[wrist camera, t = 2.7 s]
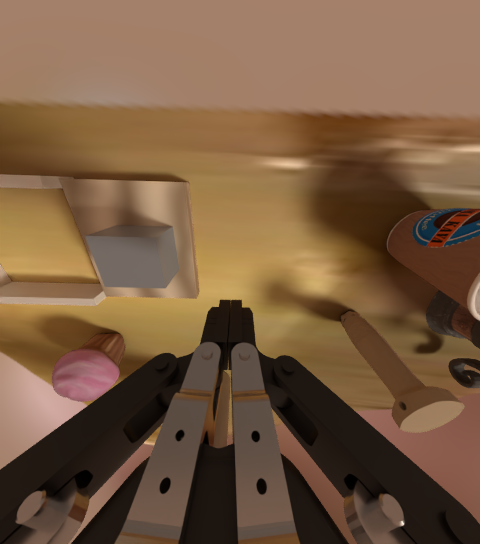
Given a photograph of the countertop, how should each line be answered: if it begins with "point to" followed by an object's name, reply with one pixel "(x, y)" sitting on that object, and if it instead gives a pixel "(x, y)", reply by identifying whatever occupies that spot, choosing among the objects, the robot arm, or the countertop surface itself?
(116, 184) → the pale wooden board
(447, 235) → the coffee cup
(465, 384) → the tankard
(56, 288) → the box
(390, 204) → the countertop surface
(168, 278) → the matte grey cube
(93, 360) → the cupcake
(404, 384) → the handle
